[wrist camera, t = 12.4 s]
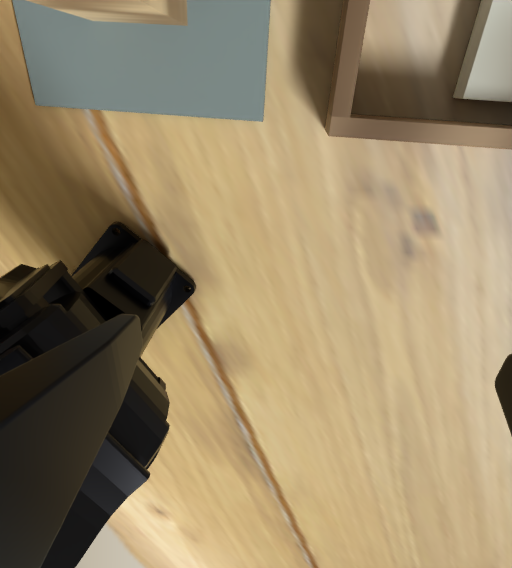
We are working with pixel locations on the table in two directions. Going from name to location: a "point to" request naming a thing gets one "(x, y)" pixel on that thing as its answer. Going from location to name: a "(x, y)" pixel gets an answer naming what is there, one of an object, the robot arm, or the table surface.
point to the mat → (151, 60)
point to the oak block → (124, 10)
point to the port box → (471, 85)
